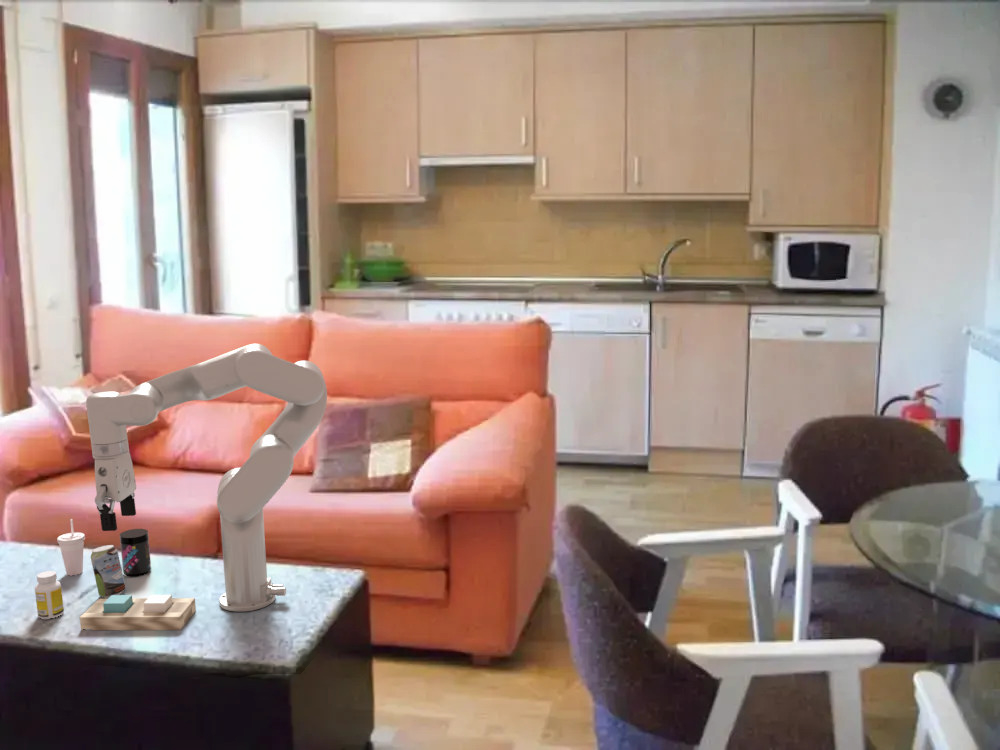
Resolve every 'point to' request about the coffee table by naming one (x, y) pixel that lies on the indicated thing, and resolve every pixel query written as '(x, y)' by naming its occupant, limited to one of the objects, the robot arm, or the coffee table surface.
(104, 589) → the beverage can
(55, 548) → the coffee table surface
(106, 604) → the teal key
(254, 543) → the robot arm
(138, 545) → the supplement container
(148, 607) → the white key
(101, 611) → the key block
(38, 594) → the supplement bottle
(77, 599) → the coffee table surface
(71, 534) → the smoothie
